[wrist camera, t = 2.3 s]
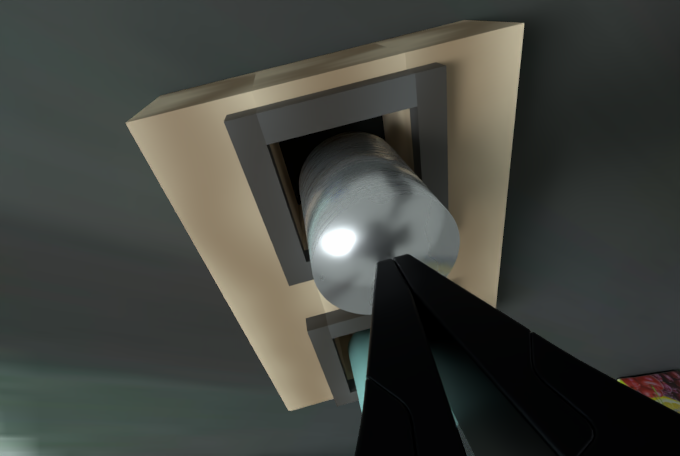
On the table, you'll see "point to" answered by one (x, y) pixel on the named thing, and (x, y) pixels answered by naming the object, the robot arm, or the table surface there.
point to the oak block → (287, 216)
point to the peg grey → (368, 217)
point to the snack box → (658, 387)
